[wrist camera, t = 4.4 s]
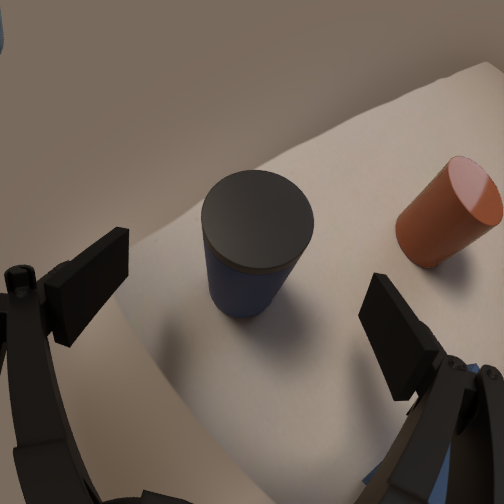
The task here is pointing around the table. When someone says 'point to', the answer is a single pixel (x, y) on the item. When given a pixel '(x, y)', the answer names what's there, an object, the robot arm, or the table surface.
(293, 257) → the blue canister
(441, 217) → the terracotta canister
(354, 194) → the table surface
